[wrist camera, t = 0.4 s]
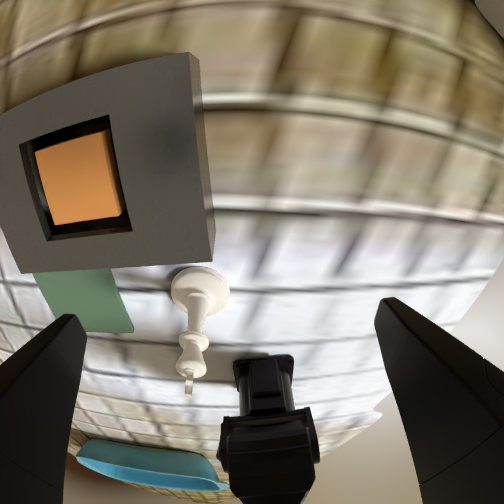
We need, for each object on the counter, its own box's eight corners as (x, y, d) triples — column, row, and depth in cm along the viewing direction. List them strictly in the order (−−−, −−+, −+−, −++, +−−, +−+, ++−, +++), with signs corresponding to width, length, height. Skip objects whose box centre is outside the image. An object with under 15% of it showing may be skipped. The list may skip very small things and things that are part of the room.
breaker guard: (215, 230, 21) (212, 261, 17) (43, 247, 20) (21, 273, 17) (199, 59, 14) (188, 51, 11) (8, 118, 14) (-25, 129, 11)
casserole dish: (104, 457, 56) (100, 477, 50) (63, 425, 44) (57, 451, 38) (232, 470, 57) (233, 493, 51) (222, 446, 46) (223, 478, 39)
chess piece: (234, 271, 23) (235, 379, 14) (224, 314, 25) (223, 415, 17) (172, 262, 22) (144, 367, 14) (170, 307, 25) (150, 406, 16)
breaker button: (125, 207, 17) (118, 215, 16) (63, 217, 17) (55, 225, 16) (109, 128, 14) (101, 132, 13) (44, 147, 14) (34, 152, 13)
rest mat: (134, 328, 26) (133, 333, 25) (65, 326, 26) (63, 330, 25) (103, 251, 21) (100, 255, 21) (29, 258, 21) (26, 261, 20)
